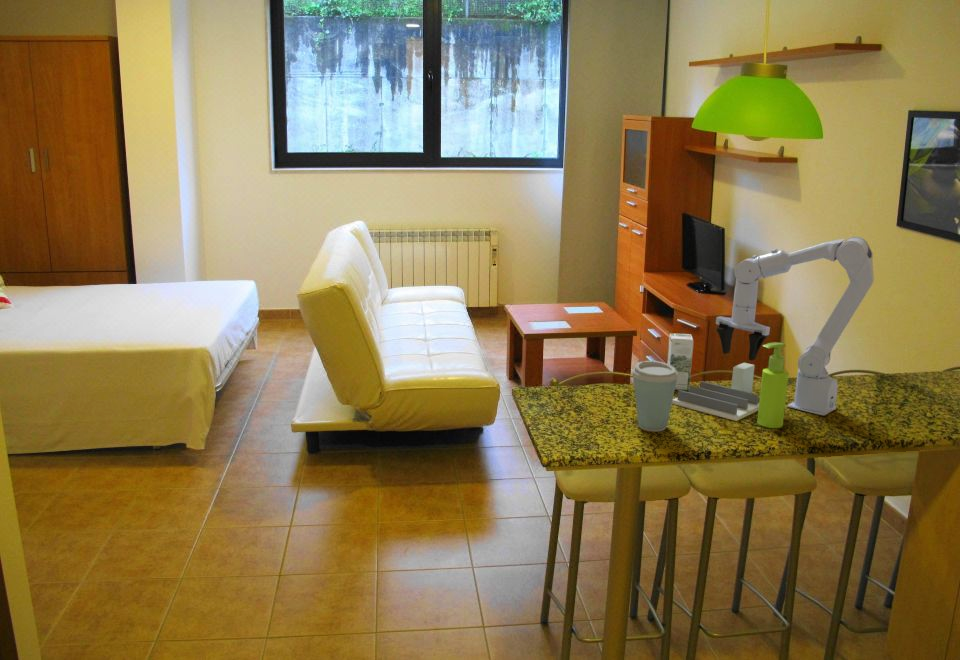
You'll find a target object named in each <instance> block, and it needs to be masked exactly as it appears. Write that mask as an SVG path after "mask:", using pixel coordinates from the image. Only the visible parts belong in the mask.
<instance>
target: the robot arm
mask: <svg viewBox="0 0 960 660" xmlns="http://www.w3.org/2000/svg"><path fill="white" fill-rule="evenodd" d="M873 256H874V254H873V251H872V249H871V247H870V245H869V243H868V242H867V240H865V239H864V238H863V237H860V236H851V237H849V238H847V239H845V238H839V239H835V240H830V241H825V242H822V243H819V244H816V245H815V244H814V245H812V246H808V247H805V248H802V249H799V250H795V251H792V252H787V251H785V249H784V250H783V249H780V250H779V249H778V248H773V249H772V250H770V252H769V253H765V254H761V255H758V254H755V255H752V257H751V258H745V259H744V260H742V261H740V262H739V263H738V264H736V266H735V268H734V273H733V274H734V277H735V279H736V281H735V286H734V293H733V303H732V309H731V310H732V312H731V313H732V314H731V317H726V316H721V315H720V316H716V319H715V325H718V326H716V332H717V334H718V336H719V340H720V343H721V347H722V349H721V350H722V353H723V355H726V354H730V351H731V345H732V338H733V335H734V330H735V329H737V330H742V331H747V332H751V333H750V334H748V339H749V340H748V341H749V352H748V361H754V360H756V359H757V356H758V352H759V351H760V348H761V346H763V343H764V342H765V340H766V339H767V337H768V336H769V335H770V331H771V327H770V326H766V325H763V324H760V323H758V322H756V321H755V320H756V313H757V312H756V310H757V301H758V293H759V292H758V291H759V280H760V278H761V279H765V278H766V279H767V278H769V277H773V276H777V275H781V274H785V273H788V272H789V271H790V270H791V267H792V266H795V265H799V264H804V263H809V262H813V261H816V260H821V259H825V260H828V261H830V262H835V261H836V260H837V262H838V263H839V264H840V265H841V266H842V267H843V268H844V269H845V271H846V274H847V277H848V280H849V284H848V286H847V287H846V289H845V291H844V293H843V294H842V296H841V297H840V299H839V300H838V302H837V304H836V306H835V307H834V308H833V310H832V312H831V314H830V316H829V317H828V318H827V321H826V322H825V324H824V325H823V327H822V329H821V330H820V332H819V334H818V335H817V337H816V338H815V340H814V341H813V343H812V344H811V345H809V346H808V347H807V348H806V349H805V351H804V353H802V354H801V355H800V356H799V357H798V360H797V367H798V369H797V375H796V384H795V393H794V400H793V401H792V402H790V403H789V404H787V408H791V409H795V410H800V411H803V412H807V413H811V414H815V415H819V416H826V415H828V414H829V413H832V412H833V411H834V410H836V409H837V407H836V404H837V403H836V402H837V394H838V385H839V384H838V380H837V379H836V378H835V377H834V378H833V377H830V375H829V372H828V370H827V368H826V366H828V364H829V363H830V361H831V354H832V351H833V349H834V348H835V345H836V344H837V342H838V340H839V339H840V337H841V336H842V334H843V332H844V331H845V329H846V328H847V326H848V325H849V323H850V321H851V320H852V318H853V316H854V315H855V313H856V311H857V310H858V308H859V306H860V305H861V303H862V302H863V300H864V298H865V297H866V295H867V293H868V292H869V290H870V288H871V287H872V285H873V283H874V282H875V280H874V279H875V278H874V277H875V276H874V265H873V258H874V257H873Z"/></svg>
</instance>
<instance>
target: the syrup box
mask: <svg viewBox="0 0 960 660" xmlns="http://www.w3.org/2000/svg"><path fill="white" fill-rule="evenodd" d="M668 336H669V337H668V350H667V361H666V364H669V365H671V366H672V367H674V368H675V369H676V371H677V372H678V379H677V381H676V386H675V390H674V391H678V390H682V391H686V392H689V386H690V385H691V384H690V383H691V373H692V364H693V361H692V360H693V351H694V339H693V336H692V334H691V333H690V334H689V333H669V335H668Z"/></svg>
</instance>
